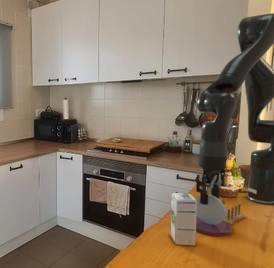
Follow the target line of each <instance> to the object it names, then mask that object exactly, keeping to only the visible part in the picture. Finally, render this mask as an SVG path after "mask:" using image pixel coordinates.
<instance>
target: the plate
mask: <svg viewBox="0 0 274 268" xmlns="http://www.w3.org/2000/svg"><path fill="white" fill-rule="evenodd" d="M195 199H196V200H197V214H196V215H197V216H198V218H199V219H200V220H202V221H203V222H205V223H207V224H211V225H216V224H219V223H221V222H223V221H224V220H225V218H226V214H227V213H226V209H227V208H226V206H225V203H224V204H223V203H222V200H221V199H220V198H219V199H218V198H217V197H215V196H213V195H211V194H209V197H208V205H203V204H201V203H200V195H199V196H196V198H195Z"/></svg>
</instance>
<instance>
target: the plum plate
mask: <svg viewBox="0 0 274 268" xmlns="http://www.w3.org/2000/svg"><path fill="white" fill-rule="evenodd" d="M232 231H233V228H232V224H231V225H230V224H228V223H227V222H225V221H223V222H221V223H219V224H216V225H211V224H207V223H205V222H203V221H202V220H200V219H199V218H198V216H197V215H196V233H200V234H203V235H207V236H212V237H226V236H229V235H231V234H232Z"/></svg>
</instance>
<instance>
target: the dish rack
mask: <svg viewBox="0 0 274 268" xmlns="http://www.w3.org/2000/svg"><path fill="white" fill-rule="evenodd" d="M221 202H222V203H223V204H224V205H225V199H224V198H223V199H222V200H221ZM241 207H242V203H238V204H237V205H234V206H231V207H230V208H228V209H227V208H226V213H227V214H226V218H225V220H224V221H225V222H227V223H228V224H230V225H231V226H232V225H233V224H235V223H236V222H239V221H240V220H242V219H243V218H245V214H243V213H241Z"/></svg>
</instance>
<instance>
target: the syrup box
mask: <svg viewBox="0 0 274 268" xmlns="http://www.w3.org/2000/svg"><path fill="white" fill-rule="evenodd" d="M170 203H171V204H170V207H171V208H170V237H171V239H172V240H173V242H174V244H175V245H181V246H196V238H197V231H196V214H197V200H196V198H195V197H194V196H193V195H192V194H191V193H189V192H187V193H186V192H172V193H171V202H170Z"/></svg>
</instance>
